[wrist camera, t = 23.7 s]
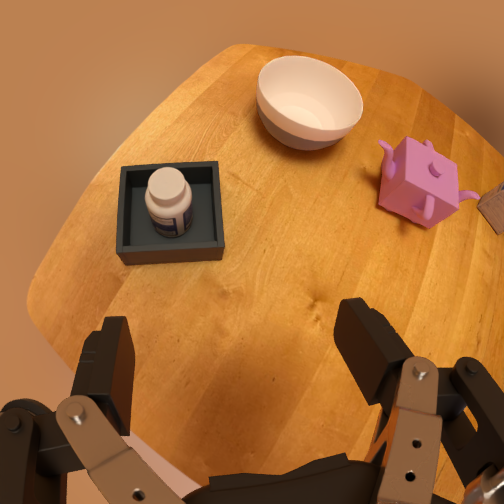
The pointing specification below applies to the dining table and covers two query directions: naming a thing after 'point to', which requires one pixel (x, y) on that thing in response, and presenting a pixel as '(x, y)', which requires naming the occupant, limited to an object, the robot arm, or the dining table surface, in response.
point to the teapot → (420, 183)
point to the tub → (141, 227)
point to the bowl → (306, 102)
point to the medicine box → (494, 207)
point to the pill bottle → (169, 202)
